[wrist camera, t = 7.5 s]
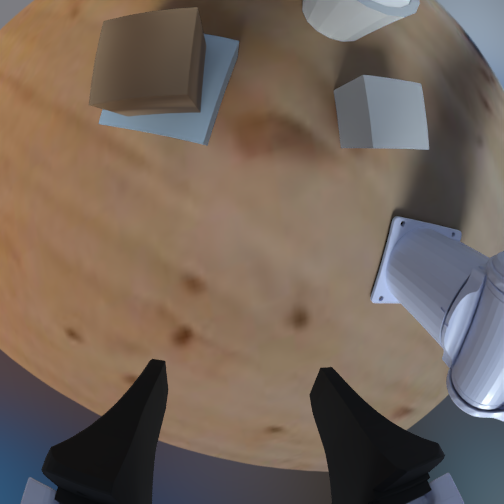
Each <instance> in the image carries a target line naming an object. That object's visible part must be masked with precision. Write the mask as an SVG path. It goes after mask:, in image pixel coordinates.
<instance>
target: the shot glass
mask: <svg viewBox="0 0 504 504" xmlns="http://www.w3.org/2000/svg"><path fill="white" fill-rule="evenodd" d="M419 4H420V2H419V0H303V7H302V11H303V14H304V16H305V18H306V20H307V22H308V23H309V24H310V25H311V26H312V27H313V28H314V29H315V30H316V31H318V32H320V33H321V34H323V35H325V36H327V37H328V38H331V39H335V40H338V41H342V42H347V41H356V40H358V39H360V38H361V37H363V36H365V35H367V34H369V33H371V32H373V31H375V30H377V29H379V28H382V27H384V26H386V25H388V24H390V23H392V22H395V21H397V20H399V19H402V18H404V17H406V16H409V15H411V14H414V13H416V11H417V8H418V6H419Z"/></svg>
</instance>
